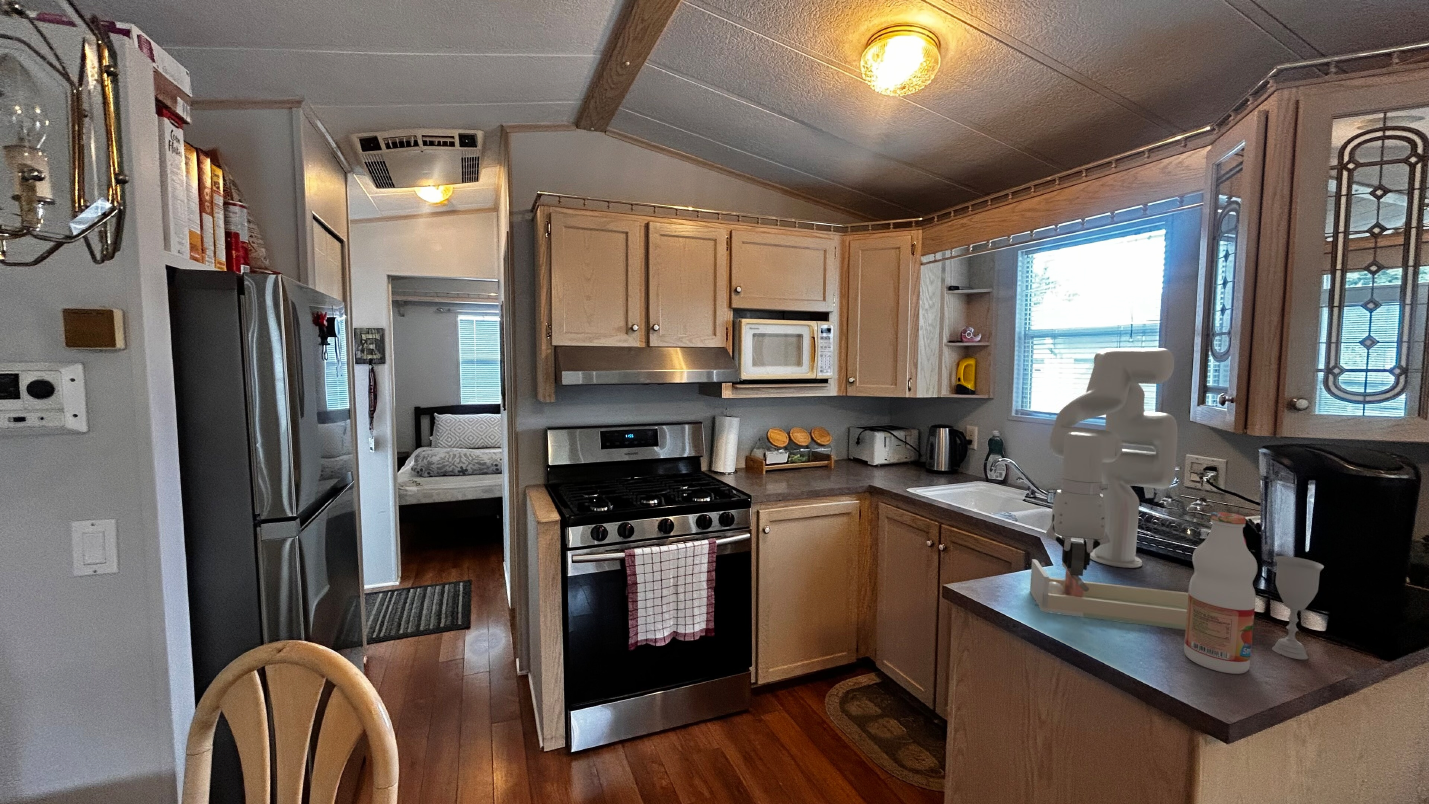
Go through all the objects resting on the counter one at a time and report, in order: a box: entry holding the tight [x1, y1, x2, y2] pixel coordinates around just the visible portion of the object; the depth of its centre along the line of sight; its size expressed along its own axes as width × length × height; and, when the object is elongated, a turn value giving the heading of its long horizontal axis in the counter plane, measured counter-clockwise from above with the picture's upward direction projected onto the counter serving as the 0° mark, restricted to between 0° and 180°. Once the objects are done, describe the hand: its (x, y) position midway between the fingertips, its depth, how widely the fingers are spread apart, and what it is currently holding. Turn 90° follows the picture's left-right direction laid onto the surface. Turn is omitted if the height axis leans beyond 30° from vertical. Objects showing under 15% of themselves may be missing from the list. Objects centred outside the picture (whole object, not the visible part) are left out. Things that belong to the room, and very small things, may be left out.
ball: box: [1048, 582, 1064, 595], centre depth 136 cm, size 4×4×4 cm
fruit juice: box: [1183, 511, 1258, 675], centre depth 110 cm, size 9×9×28 cm
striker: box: [1061, 540, 1089, 597], centre depth 135 cm, size 16×2×13 cm, turn 163°
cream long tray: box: [1029, 558, 1188, 631], centre depth 133 cm, size 12×32×8 cm, turn 73°
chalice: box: [1271, 555, 1325, 660], centre depth 114 cm, size 7×7×18 cm
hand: (1075, 566), depth 135 cm, fingers closed on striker, 2 cm apart
